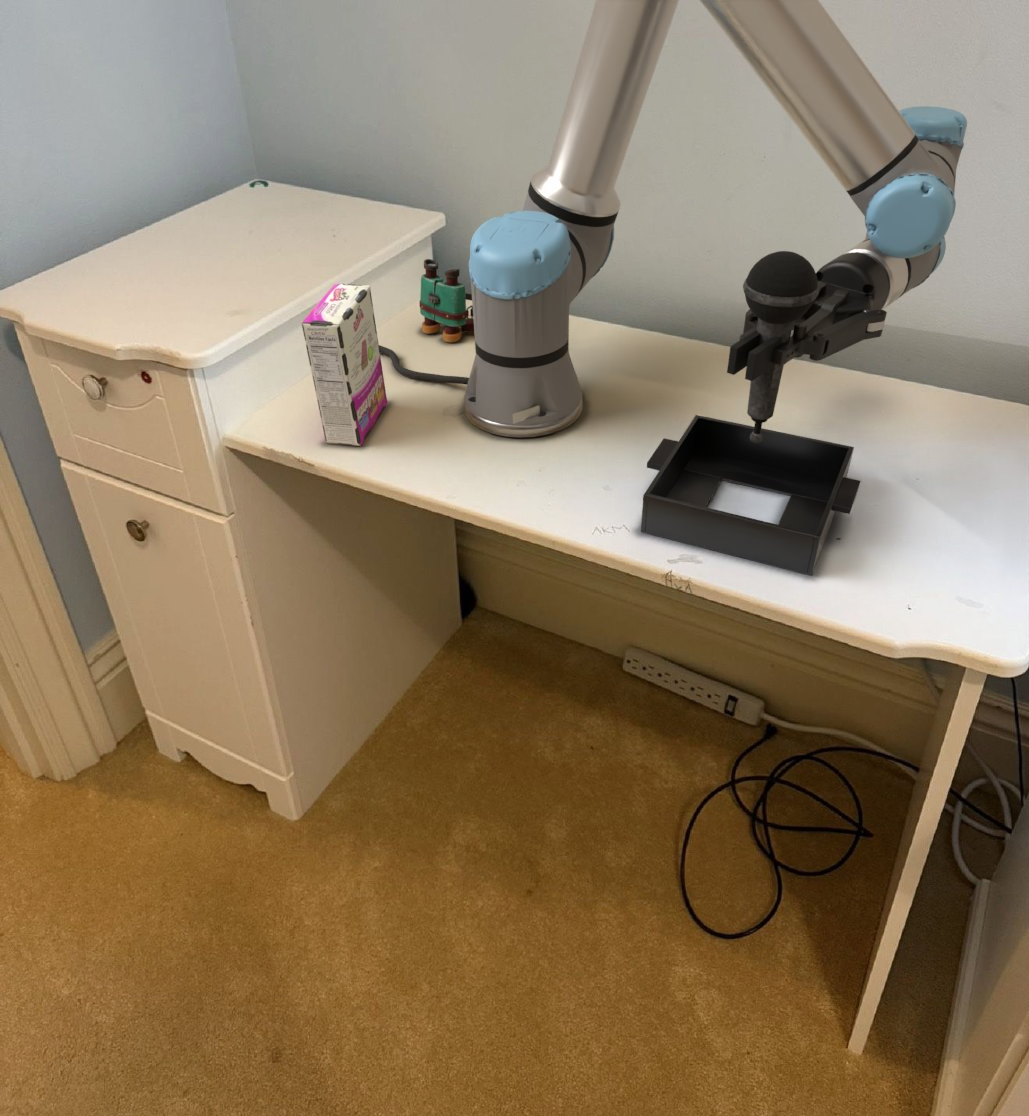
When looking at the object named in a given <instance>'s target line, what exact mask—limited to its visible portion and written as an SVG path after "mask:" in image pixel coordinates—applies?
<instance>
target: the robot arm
mask: <svg viewBox="0 0 1029 1116" xmlns="http://www.w3.org/2000/svg"><path fill="white" fill-rule="evenodd" d="M679 1H680V0H595V2H594V4H593V9H592V11H591V15H590V19H589V22H588V26H587V29H586V33H585V36H584V39H583V43H582V46H581V50H580V53H579V57H578V60H577V62H576V67H575V70H574V74H573V78H572V81H571V83H570V88H569V92H568V95H567V98H566V101H565V106H564V109H563V112H562V115H561V119H560V122H559V125H558V126H559V127H558V129H557V133H556V135H555V140H554V143H553V145H552V150H551V153H550V157H549V161H548V164H547V165H546V166H544V167H542V168H540V169H538V170H536V171H535V172H533V174H532V175H531V178H530V182H529V185H528V189H527V192H526V195H525V200H524V203H523V206H522V210H519V211H518V210H517V211H511V212H507V213H504V214H503V216H494V217H492V218H490V219H488V220H487V221H485V222H483V223H482V224H481V225H480V226H479V227H478V228H477V229H476V230H475V232H474V233H473V235H472V236H471V237H472V238H471V241H470V245H469V260H468V273H469V277H470V289H471V290H470V291H471V294H472V301H471V303H472V306H473V319H474V331H473V332H474V334H473V335H474V346H475V347H474V349H475V350H474V351H475V356H474V360H473V364H472V367H471V370H470V374H469V377H468V376H466V377H465V376H457V375H443V374H435V373H429V372H421V371H415V370H412V369H408V368H405V367H404V366H402V365H401V364H400V360H399V357H398V355H397V353H396V352H395V351H394V350H393V349H391V348H388V347H386V346H383V345H380V344H378V345H379V351H380V354H382V355H385V356H386V357H387V356H388V357H389V358H390V360H391V365H392V367H393V368H394V370H395V371H396V372H397V373H398V374H400V375H403V376H405V377H408V378H410V379H411V378H412V379H416V380H421V381H427V382H429V381H430V382H436V383H445V384H458V385H466V387H465V388H466V389H465V392H464V395H463V400H464V401H463V402H464V413H465V416H466V418H467V419H468V421H469V422H470V423H471V424H472V425H473V426H474V427H476V428H478V429H479V430H481V431H484V432H487V433H489V434H493V435H495V436H502V437H507V438H534V437H540V436H541V437H542V436H546V435H551V434H553V433H557V432H559V431H561V430H564V429H566V428H567V427H569V426H571V425H572V424H574V423H575V422H576V421H577V420H578V419H579V418H580V416H581V413H582V411H583V390H582V387H581V384H580V382H579V378H578V376H577V373H576V370H575V367H574V364H573V360H572V358H571V355H570V347H569V345H570V342H569V340H570V306H571V304H572V302H573V301H574V300H575V299H576V297H577V296H578V295H579V294H580V292H581V291H583V289H584V288H585V287H586V285H587V284H588V283H589V282H590V281H591V279H593V278H594V277H595V276H597V274H598V273H599V272H600V271H601V269H602V268H603V267H604V266H605V264H606V262H607V261H608V258H609V257H610V254H611V251H612V248H613V244H614V241H615V240H614V239H615V222H616V220H617V217H618V215H619V211H620V208H621V200H620V197H619V196H618V194H617V191H616V190H615V186H616V183H617V181H618V178H619V174H620V173H621V169H622V166H623V163H624V160H625V157H626V154H627V151H628V148H629V146H630V143H631V140H632V137H633V134H634V131H635V128H636V126H637V123H638V120H639V117H640V114H641V111H642V108H643V105H644V103H645V101H646V100H645V99H646V97H647V94H648V91H649V88H650V85H651V82H652V79H653V76H654V73H655V71H656V68H657V65H658V62H659V58H660V56H661V53H662V51H663V48H664V44H665V41H666V39H667V36H668V33H669V30H670V27H671V24H672V21H673V19H674V17H675V13H676V10H677V7H678V4H679ZM699 1H700V2H701V4H702V5H703V6H704V8H705V9H706V10H707V12H708V13H709V14H710V16H711V17H712V19H714V21H715V22H716V23H717V25H718V27H720V29H721V30H722V32H723V33H724V34H725V35H726V37H727V38H728V39H729V40H730V42H731V43H732V44H733V45H734V47H735V48H736V49H737V51H738V52H739V53H740V55H741V56H742V57H743V58H744V60H745V61H746V63H747V64H748V65H749V67H750V68H751V69H752V70H753V71H754V73H755V75H756V76H757V77H758V79H760V81H761V82H762V84H763V85H764V86H765V87H766V89H767V90H768V91H769V92H770V93H771V95H772V96H773V98H774V99H775V100H776V102H777V103H778V104H779V105H780V107H781V108H782V109H783V111H784V113H785V114H786V115H787V116H788V117H789V119H790V120H791V121H792V122H793V124H794V125H795V126H796V127H797V129H798V130H799V131H800V133H801V134H802V135H803V137H804V138H805V139H806V141H807V142H808V143H809V144H810V146H811V147H812V148H813V150H814V151H815V152H816V154H817V155H818V156H819V158H820V159H821V160H822V162H823V163H824V164H825V166H826V167H827V168H828V169H829V171H830V173H832V175H833V176H834V177H835V179H836V180H837V181H838V182H839V184H840V185H841V186H842V188H843V189H844V190H845V191H846V193H847V194H848V195H849V197H850V199H851V201H852V202H853V203H854V204H855V205H856V207H857V208H858V209H859V211H860V212H861V214H862V215H863V216H864V225H865V228H866V235H865V239H864V240H863V241H861V242H860V243H857V245H855V246H853V247H852V248H850V249H848V250H846V251H844V252H843V253H842V254H840V255H839V256H837V257H835V258H834V259H832V260H830V261H829V262H827V263H826V264H824V265H822V266H821V267H820V268H819V269H818V270H817V271H815V273H816V276H817V282H818V286H819V294H818V296H817V298H816V299H815V300H814V302H813V304H812V306H811V307H810V308H809V309H808V311H807V312H806V313H805V314H804V315H802V316H801V317H800V318H798V319H797V320H794V321H793V324H792V329H791V333H790V338H789V340H788V341H787V342H785V343H782V344H781V342H782V337H779V338H775V337H771V338H770V339H768V340H767V341H765V342H764V343H762V344H761V345H759V341H760V333H759V332H758V331H757V324H758V317H757V316H755V315H754V314H753V312H752V311H751V310H750V308H749V309H748V310H747V311H746V312H745V316H744V325H743V330H742V334H740V335H739V340H738V341H737V342H735V343H733V344H732V345H730V346H729V347H730V348H729V355H728V363H727V369H726V373H727V374H729V375H733V376H735V375H736V374H738V373H739V372H741V371H742V370H743V369H745V368H746V369H745V375H744V379H745V380H747V381H750V382H751V381H753V380H754V379H756V378H757V377H759V376H760V375H762V374H763V373H764V372H766V371H767V370H769V369H770V368H772V367H773V366H774V365H776V364H778V365H783V364H784V365H785V364H787V363H788V362H790V361H792V360H793V359H794V358H802V356H804V355H809V357H808V358H809V359H810V360H812V361H814V362H817V361H822V360H824V359H826V358H828V357H830V356H832V355H834V354H837V353H839V352H841V351H843V350H845V349H848V348H849V347H852V346H854V345H856V344H859V343H860V342H862V341H865V340H870V339H876V338H881V337H882V335H883V334H882V333H883V330H884V326H885V322H886V318H887V313H888V312H887V311H886V310H884V309H886V308H888V307H889V306H890V305H891V304H893V303H894V302H895V301H897V300H899V299H900V298H901V297H902V296H904V295H905V294H906V293H908V292H910V291H911V290H913V289H915V288H917V287H920V286H921V285H922V284H923V283H925V281H926V280H927V279H929V277H930V276H931V275H932V274H933V273H934V272H935V271H936V270H937V269H938V267H939V266H940V265H941V264H942V262H943V260H944V257H945V253H946V249H947V248H946V247H947V245H946V244H947V243H946V242H947V241H946V237H945V236H946V234H947V232H948V230H949V228H950V226H951V223H952V220H953V218H954V215H955V211H956V205H957V202H956V198H955V188H956V179H957V178H956V177H957V168H958V164H959V161H960V156H961V153H962V150H963V149H964V145H965V143H964V140H965V135H966V131H967V127H968V120H967V118H966V116H965V115H964V114H963V113H962V112H960V111H957V110H955V109H952V108H947V107H941V106H926V105H925V106H924V105H923V106H921V105H920V106H911V107H905V108H902V109H900V110H899V109H898V108H897V106H896V105H895V104H894V102H893V101H892V99H891V98H890V97H889V95H888V94H887V92H886V91H885V90H884V88H883V87H882V85H881V84H880V82H879V81H878V80H877V79H876V77H875V76H874V75H873V73H872V72H871V71H870V69H869V67H868V66H867V65H866V64H865V62H864V61H863V59H862V58H861V57H860V55H859V54H858V53H857V51H856V50H855V48H854V46H852V44H851V42H850V41H849V40H848V38H846V36H845V35H844V33H843V32H842V30H841V29H840V28H839V26H838V25H837V23H836V22H835V21H834V20H833V18H832V16H831V15H830V14H829V12H828V11H827V10H826V9H825V7H824V6H823V4H822V3H821V2H820V0H699Z"/></svg>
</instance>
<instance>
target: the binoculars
mask: <svg viewBox="0 0 1029 1116" xmlns="http://www.w3.org/2000/svg"><path fill="white" fill-rule="evenodd" d="M438 269H439V263H438V262H437V261H436V260H434V259H431V258H426V259H424V260H423V270H425V273H424V274H422V275H421V277H420V299H419V313H420V315H421V316H423V317H424V321H423V322H422V324H421V331H422V333H424V334H430V335H431V334H435V333H437V332H438V331H440V330H441V328H442V325H444V326H445V329H444V330H442V340H443V341H444V342H446V343H454V342H457V341H459V340H461V338H462V333H466V332H468V333H469V332H474V319H473V305H470V306H468V307H467V301H471V302H472V293H468V292H466V286H465V284H464V283H462V282H459V277H460V271H461V270H460V268H453V269H449V270H445V271H444V276H445V277H446V278H445V279H446V280H444V279H443V277H442V276H440V275H438V274H437V272H438V271H437V270H438ZM469 309H470V310H469ZM469 312H470V313H469ZM469 315H470V317H469Z"/></svg>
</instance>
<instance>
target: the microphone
mask: <svg viewBox="0 0 1029 1116" xmlns="http://www.w3.org/2000/svg"><path fill="white" fill-rule="evenodd" d="M742 290H743V293H744V297H745V302H746V304H747V307H748V308H749V309H750V310H751V311H752V312H753V314H754V315H755V316H757V317H758V324H757V331H758V332H759V333H760V341H759V345H761V344H762V343H764V342H765V341H767V340H768V339H770V338H771V337H775V338H779V337H782V342H781V344H782V343H785V342H787V341H788V340H789V338H790V337H791V336H790V333H791V334H792V331H791V329H792V324H793V321H794V320H797V319H798V318H800V317H801V316H802V315H804V314H805V313H806V312H807V311H808V309H809V308H810V307H811V306H812V304H813V302H814V300H815V299H816V298H817V296H818V294H819V286H818V282H817V276H816V270H815V268H814V267H813V265H812V264H811V262H810V261H809V260H807V258H806V257H804V256H803V255H802V254H801V255H800V253H797V252H794V251H789V250H780V251H779V250H778V251H775V252H771V253H768V254H767V255H765V256H763V257H761V258H760V259H759V260H758V261H757V262H756V263H755V264H754V265H753V266H752V267H751V269H750V271H749V272H748V274H747V277H746V279H744V281H743V284H742ZM784 366H785V364H783V365H778V364H776V365H774V366H773V367H772V368H770V369H769V370H767V371H766V372H764V373H763V374H762V375H760V376H759V377H757V378H756V379H754V380H753V381H750V384H749V394H748V401H747V402H748V403H747V411H746V414H747V416H749V417H750V419H751V420H752V421H753V422H754V425H753V427H754V431H753V432H752V433H751V434H750V440H751V442H753V443H759V442H761V441H762V438H763V435H762V433H761V428H762V425H763V423H766V422H767V421H768V420H769V419H771V418H773V416H774V412H775V408H776V403H777V398H778V395H779V394H778V393H779V390H780V384H781V380H782V374H783V370H784Z"/></svg>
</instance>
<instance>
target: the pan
mask: <svg viewBox="0 0 1029 1116" xmlns="http://www.w3.org/2000/svg"><path fill="white" fill-rule="evenodd" d="M753 431H754V425H748V424H744V423H739V422H734V421H729V420H728V421H727V420H723V419H719V418H713V417H708V416H704V415H698V414H695V416H693V418H692V420H691V421H690V423H689V425H688V426H687V428H686V429H685V430H684V432H683V434H682V435H681V437H680V438H679V440H674V439H669V438H665V437H664V438H663V439H662V440H661V441H660V443H659V445H658V446H657V448H656V449H655V451H653V453H652V455H651V456H650V458H649V459H648V461H647V462H646V469H650V470H655V471H657V474H656V475H655V477H654V478H653V480H652V481H651V483H650V484H649V486H647V488H646V490H645V492H644V493H643V494H642V495H643V496H642V508H641V509H642V511H641V525H640V532H641V533H644V534H648V535H652V536H656V537H660V538H664V539H667V540H672V541H676V542H680V543H684V544H686V545H691V546H695V547H699V548H703V549H706V550H710V551H714V552H719V553H722V554H726V555H730V556H734V557H738V558H742V559H745V560H749V561H754V562H757V563H761V564H764V565H769V566H773V567H777V568H781V569H783V570H787V571H791V572H795V573H799V574H804V575H807V576H813V573H814V571H815V568H816V565H817V563H818V560H819V557H820V555H821V552H822V549H823V546H824V544H825V540H826V538H827V535H828V533H829V530H830V527H831V524H832V521H833V519H834V516H835V513H836V512H838V513H842V514H847V515H850V514H851V512H852V510H853V506H854V503H855V501H856V499H857V495H858V492H859V489H860V486H861V482H862V481H861V480H859V479H854V478H849V477H848V475H849V470H850V466H851V463H852V458H853V454H854V449H855V447H854V446H851V445H850V446H849V445H846V444H840V443H837V442H831V441H826V440H821V439H816V438H812V437H806V436H801V435H797V434H792V433H787V432H782V431H776V430H772V429H767V428H764V427H763V428H762V427H761V433H762V435H763V438H762V441H761V442H759V443H753V442H751V440H750V434H751V433H752V432H753ZM721 481H724V482H728V483H733V484H737V485H741V486H744V487H745V486H746V487H751V488H755V489H759V490H763V491H768V492H771V493H776V494H781V495H785V496H789V499H788V501H787V504H786V506H785V508H784V511H783V512H782V515H781V517H780V520H779V521H778V524H777V523H773V522H769V521H765V520H761V519H756V518H752V517H748V516H745V515H740V514H736V513H732V512H727V511H724V510H719V509H715V508H710V507H707V506H708V505H709V502H710V500H711V499H712V497H713V496H714V493H715V492H716V490H717V488H718V486H719V484H720V482H721Z"/></svg>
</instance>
